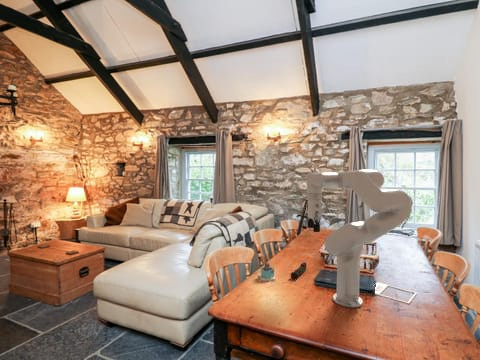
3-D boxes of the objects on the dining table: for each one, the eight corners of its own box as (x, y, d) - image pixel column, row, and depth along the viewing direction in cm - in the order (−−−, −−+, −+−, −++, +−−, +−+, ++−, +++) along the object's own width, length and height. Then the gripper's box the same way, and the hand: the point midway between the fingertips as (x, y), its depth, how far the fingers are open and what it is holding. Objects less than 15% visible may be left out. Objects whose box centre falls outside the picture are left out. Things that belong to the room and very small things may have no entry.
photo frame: (377, 281, 149) (417, 292, 137) (377, 283, 150) (416, 294, 137) (367, 290, 139) (409, 302, 126) (367, 292, 139) (409, 305, 127)
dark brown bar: (297, 280, 153) (297, 272, 153) (290, 278, 155) (290, 270, 155) (310, 270, 168) (310, 262, 168) (303, 268, 171) (304, 261, 171)
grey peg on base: (275, 280, 152) (275, 265, 152) (260, 280, 152) (260, 265, 152) (273, 274, 160) (273, 260, 160) (259, 275, 160) (259, 260, 160)
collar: (274, 278, 153) (274, 271, 152) (261, 278, 152) (261, 271, 152) (272, 273, 160) (272, 266, 159) (260, 273, 159) (260, 266, 159)
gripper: (327, 198, 138) (326, 233, 139) (316, 195, 155) (315, 226, 156) (311, 198, 138) (311, 233, 139) (302, 195, 155) (302, 226, 156)
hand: (313, 229), depth 147 cm, fingers open, 9 cm apart
